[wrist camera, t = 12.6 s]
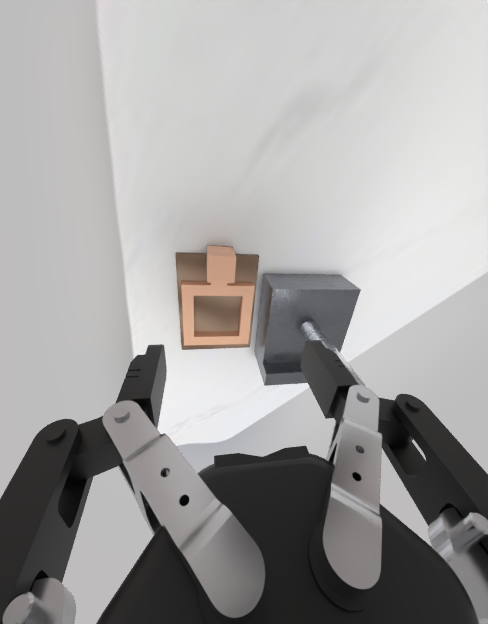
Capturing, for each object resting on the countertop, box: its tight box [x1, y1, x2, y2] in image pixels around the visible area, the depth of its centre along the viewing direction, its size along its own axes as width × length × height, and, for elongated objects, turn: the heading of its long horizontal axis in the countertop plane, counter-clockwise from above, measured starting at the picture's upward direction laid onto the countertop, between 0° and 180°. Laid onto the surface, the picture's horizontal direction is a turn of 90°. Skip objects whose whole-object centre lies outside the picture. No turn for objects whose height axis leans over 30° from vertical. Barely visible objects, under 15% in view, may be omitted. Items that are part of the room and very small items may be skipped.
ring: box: [181, 246, 255, 346], centre depth 30 cm, size 14×9×4 cm, turn 175°
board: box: [176, 253, 259, 350], centre depth 33 cm, size 14×10×1 cm
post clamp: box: [255, 274, 366, 387], centre depth 28 cm, size 15×11×19 cm
